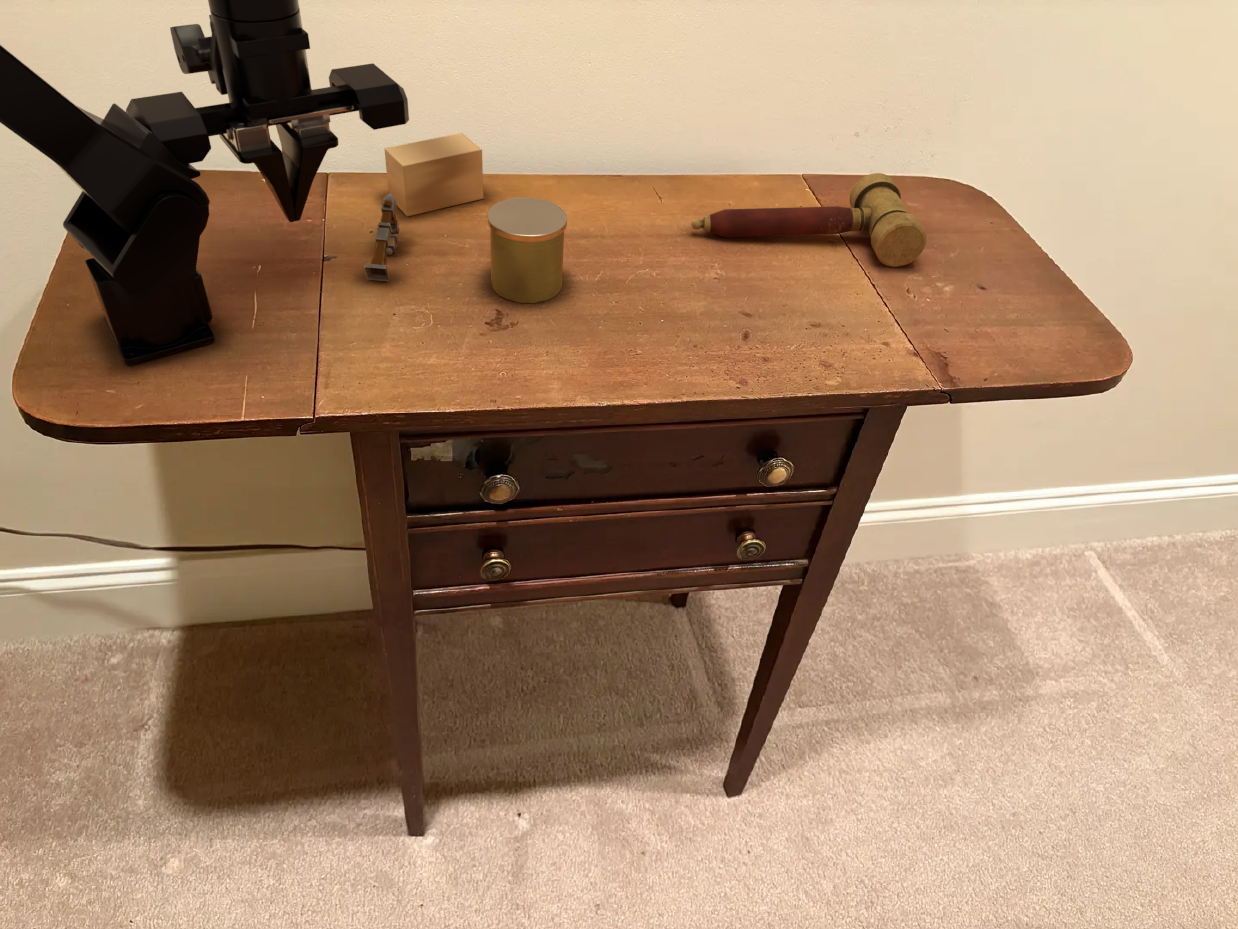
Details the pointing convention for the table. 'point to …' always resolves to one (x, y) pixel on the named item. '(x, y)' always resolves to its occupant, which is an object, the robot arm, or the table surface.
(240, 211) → the table surface
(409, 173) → the birch block
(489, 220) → the enamel tin
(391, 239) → the wooden lantern post
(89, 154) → the robot arm
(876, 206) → the gavel
